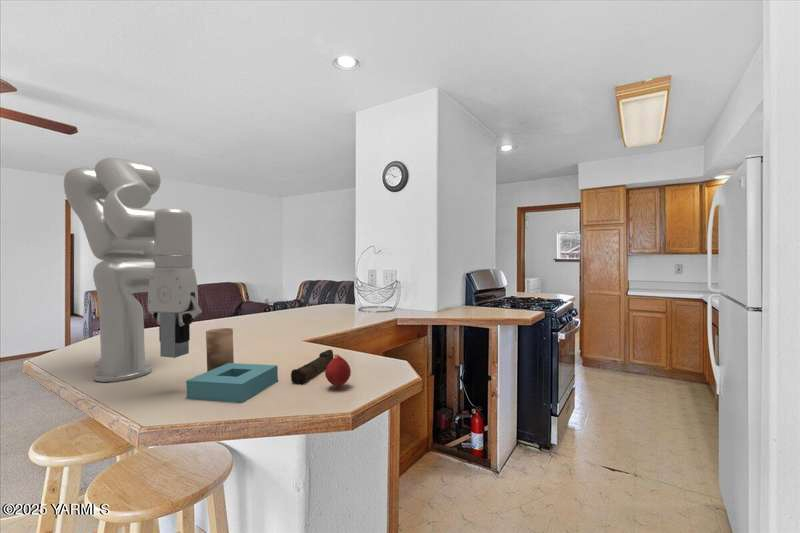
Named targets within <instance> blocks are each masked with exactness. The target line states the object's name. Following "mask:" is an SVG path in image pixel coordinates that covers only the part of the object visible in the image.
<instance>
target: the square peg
mask: <svg viewBox="0 0 800 533" xmlns="http://www.w3.org/2000/svg"><path fill="white" fill-rule="evenodd" d="M183 315H184V318H185V314H183ZM177 326H179V322H178V317H177V313H160V341H159V342H160V343H159V345H160V346H159V347H160V349H159V350H160V352H159V353H160V354H159V355H160V357H161V358H173V359H176V358H178V357H181V356H184V355H188V354H189V353H190V351H189V349H190V340H189V341H187V342H183V343H177Z"/></svg>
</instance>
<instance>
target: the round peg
mask: <svg viewBox="0 0 800 533" xmlns="http://www.w3.org/2000/svg"><path fill="white" fill-rule="evenodd" d="M205 342H206V343H205V344H206V345H205V346H206V372H208V371H210V370H213V369H215V368H218V367H220V366H222V365H225V364H227V363H235V362H234V358H235V357H234V329H233V328H229V327H226V328H225V327H224V328H223V327H222V328H221V327H220V328H214V329H212V328H211V329H209V330H206V331H205Z"/></svg>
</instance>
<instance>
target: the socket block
mask: <svg viewBox="0 0 800 533" xmlns="http://www.w3.org/2000/svg"><path fill="white" fill-rule="evenodd" d="M278 368H279V367H278V365H277V364H276V365H275V364H257V363H240V362H239V363H238V362H237V363H235V362H234V363H227V364H225V365H222V366H220V367H218V368H215V369H213V370H210V371H208V372H207V371H206V372H203V373H201V374H199V375H196V376H194V377H192V378H189V379H187V380H186V382H185V383H186V384H185V385H186V387H185V388H186V399H188V400H204V401H218V402H231V403H244V402H246V401H248V400H249V399H251V398H252V397H254V396H256V395H258V394H259V393H260V392H262V391H264V390H265V389H267V388H269V387H270V386H272V385H274V384H276V383H277V382H278V381H279V377H278V376H279V375H278V374H279V372H278Z"/></svg>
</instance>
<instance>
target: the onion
mask: <svg viewBox="0 0 800 533" xmlns="http://www.w3.org/2000/svg"><path fill="white" fill-rule="evenodd" d="M346 360H347V359H344V358H343V357H342V356H340V354H338V353H336V354H333V359H332V360H331V361H330V362H329V364H328V365H327V367H326V369H325V371H324V372H325V374H324V375H325V378H326V379H327V381H328V382H329V383H330V384H331V385H332V386H333V387H334V388H336V389H339V388H341V387H343V386H344V385H345V384H347V383H348V380H350V377H351V372H352V370H351V366H350V365H349V363H348V361H346Z"/></svg>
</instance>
